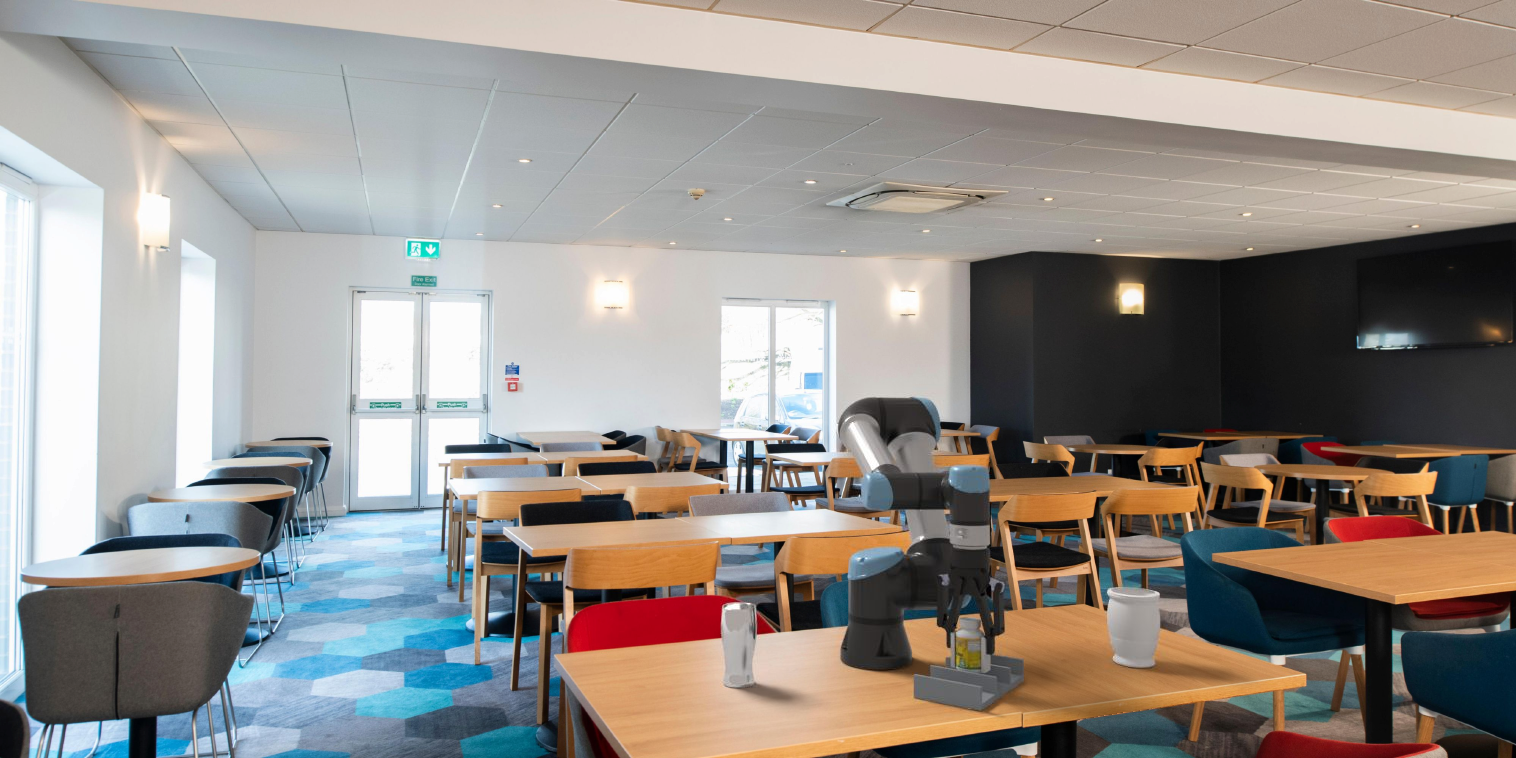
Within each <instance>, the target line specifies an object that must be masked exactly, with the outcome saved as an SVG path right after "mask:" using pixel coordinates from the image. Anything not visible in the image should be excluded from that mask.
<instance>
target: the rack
mask: <svg viewBox="0 0 1516 758" xmlns="http://www.w3.org/2000/svg"><path fill="white" fill-rule="evenodd" d="M1024 663H1025V659H1024V658H1019V657H1011V656H1007V655H1000V654H995V653H994V654H992V655H990V668H991V670H989V671H988V672H986V673H973V672H967V671H962V670H958V669H957V668H956V667H955V668H953V667H951V656H946V657H945V667H943V666H939V665H934V664H933V665H932V664H931V665H930V666H929V670H930V671H929V672H930V673H929V674H930V676H927V675H923V674H916V673H914V674H913V698H914V699H918V700H923V701H928V702H932V703H938V704H943V705H947V706H952V707H957V708H962V707H963V709H967V708H970V709H969V710H971V709H975V710H974V711H976V710H980V711H979V712H982V711H984V710H985V709H987V708H988V707H989V706H991V705H992V704H994V703H995V702H996V701H997V700H999V699H1001V698H1002V697H1003V696H1005V695H1006V694H1007V693H1009V692H1010V691H1012V690H1013V689H1015V688H1017V686H1019V685H1020V684H1021V683H1023V682H1025V664H1024ZM1000 697H1001V698H1000ZM990 704H991V705H990ZM984 708H985V709H984ZM983 709H984V710H983ZM981 710H982V711H981Z"/></svg>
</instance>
